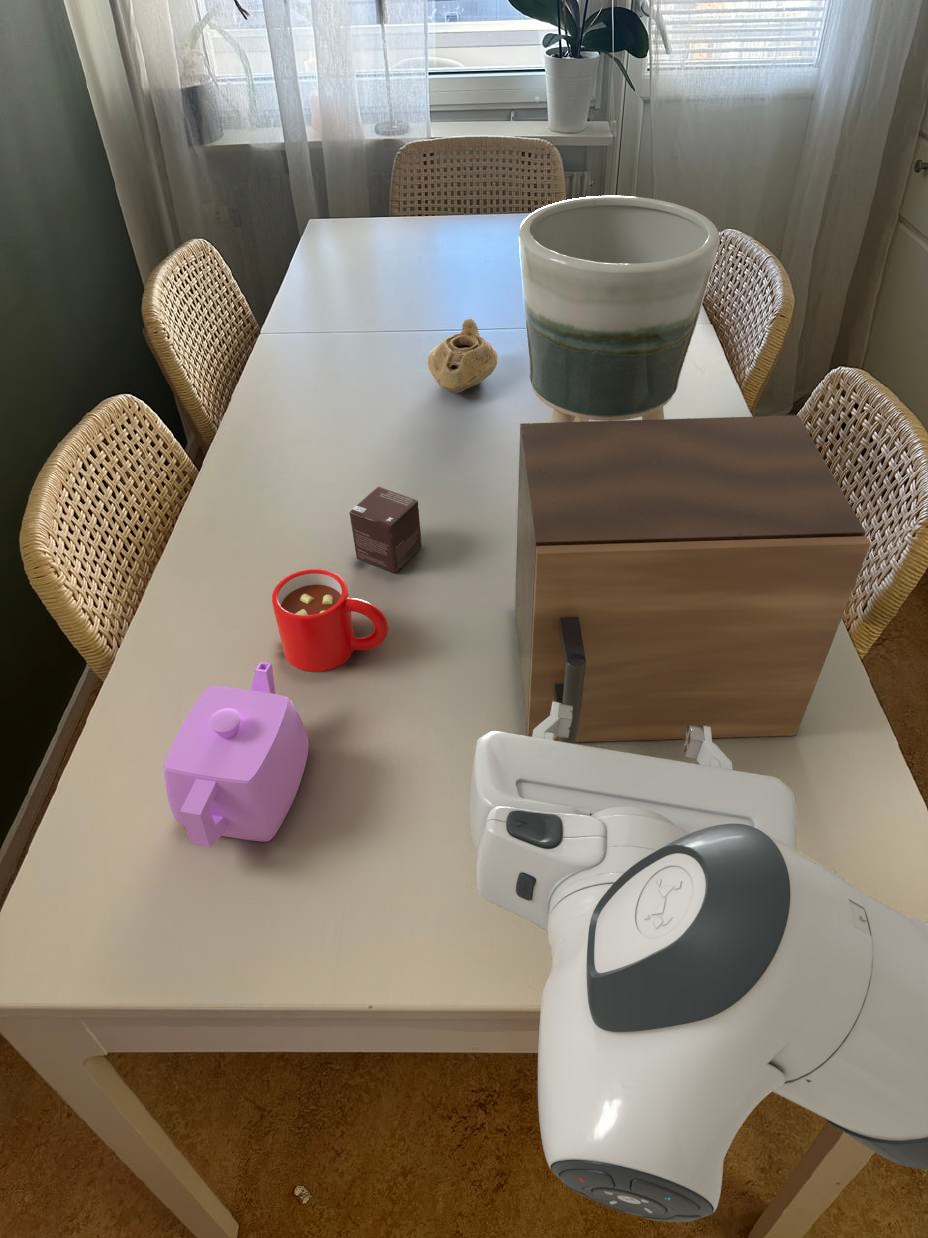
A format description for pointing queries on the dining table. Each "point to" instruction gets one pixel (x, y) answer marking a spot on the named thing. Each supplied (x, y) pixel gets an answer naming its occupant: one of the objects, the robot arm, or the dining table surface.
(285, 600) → the mug
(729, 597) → the cupboard door
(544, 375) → the planter
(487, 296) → the dining table surface
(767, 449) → the cupboard
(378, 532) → the box
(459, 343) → the oil lamp
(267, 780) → the teapot
